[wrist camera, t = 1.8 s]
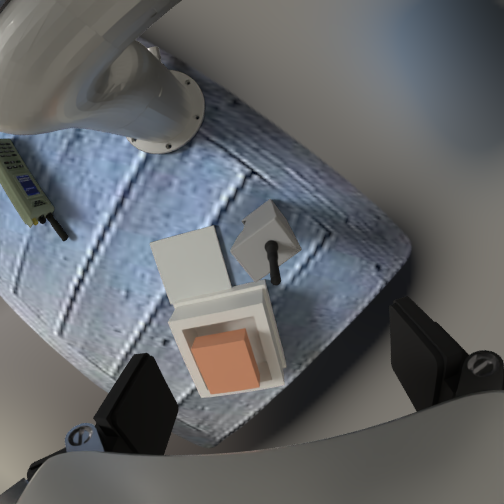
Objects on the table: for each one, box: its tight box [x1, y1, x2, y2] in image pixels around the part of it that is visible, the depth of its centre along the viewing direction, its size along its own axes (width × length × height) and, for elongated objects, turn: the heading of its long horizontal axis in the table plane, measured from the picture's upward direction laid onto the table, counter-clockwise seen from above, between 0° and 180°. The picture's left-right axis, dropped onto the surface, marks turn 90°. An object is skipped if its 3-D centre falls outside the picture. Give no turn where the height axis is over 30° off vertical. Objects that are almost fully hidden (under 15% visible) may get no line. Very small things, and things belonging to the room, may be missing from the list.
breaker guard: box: [168, 279, 286, 398], centre depth 43 cm, size 15×14×7 cm
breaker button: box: [191, 328, 260, 394], centre depth 38 cm, size 8×7×3 cm
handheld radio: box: [0, 139, 69, 241], centre depth 38 cm, size 7×3×25 cm
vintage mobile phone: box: [230, 199, 302, 285], centre depth 30 cm, size 4×5×25 cm
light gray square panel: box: [150, 225, 232, 304], centre depth 44 cm, size 10×10×1 cm
